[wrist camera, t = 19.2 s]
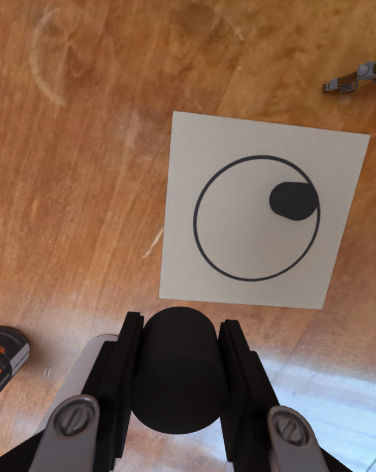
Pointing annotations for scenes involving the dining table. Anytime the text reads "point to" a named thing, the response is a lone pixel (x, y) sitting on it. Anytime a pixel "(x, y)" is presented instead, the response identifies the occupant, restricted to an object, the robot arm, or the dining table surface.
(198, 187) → the paper sheet
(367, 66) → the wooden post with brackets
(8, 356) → the pill bottle
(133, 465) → the dining table surface
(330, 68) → the dining table surface
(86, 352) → the mug
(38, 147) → the dining table surface
